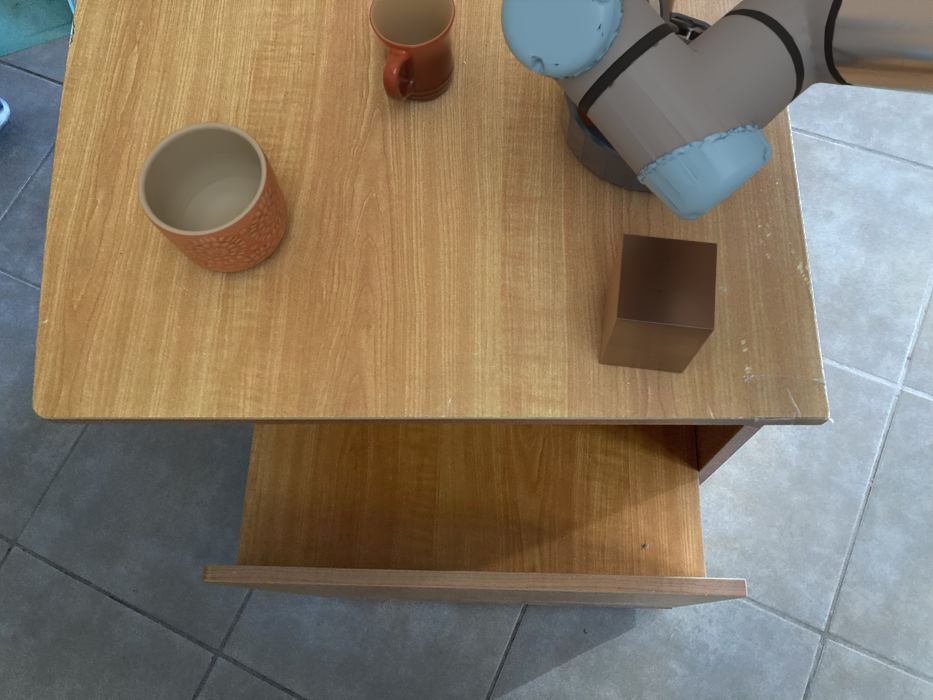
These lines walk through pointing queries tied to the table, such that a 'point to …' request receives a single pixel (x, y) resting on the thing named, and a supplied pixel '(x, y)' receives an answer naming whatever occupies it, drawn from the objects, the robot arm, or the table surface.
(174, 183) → the planter
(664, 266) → the stand
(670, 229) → the table surface
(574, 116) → the bowl
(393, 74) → the mug
